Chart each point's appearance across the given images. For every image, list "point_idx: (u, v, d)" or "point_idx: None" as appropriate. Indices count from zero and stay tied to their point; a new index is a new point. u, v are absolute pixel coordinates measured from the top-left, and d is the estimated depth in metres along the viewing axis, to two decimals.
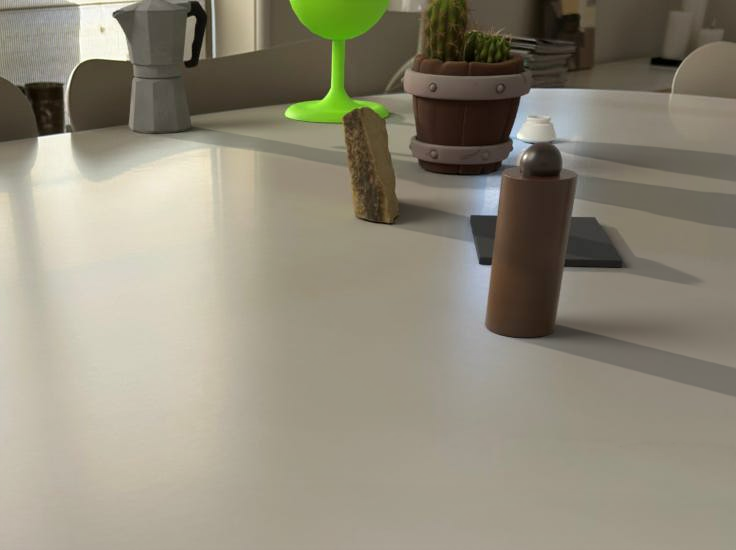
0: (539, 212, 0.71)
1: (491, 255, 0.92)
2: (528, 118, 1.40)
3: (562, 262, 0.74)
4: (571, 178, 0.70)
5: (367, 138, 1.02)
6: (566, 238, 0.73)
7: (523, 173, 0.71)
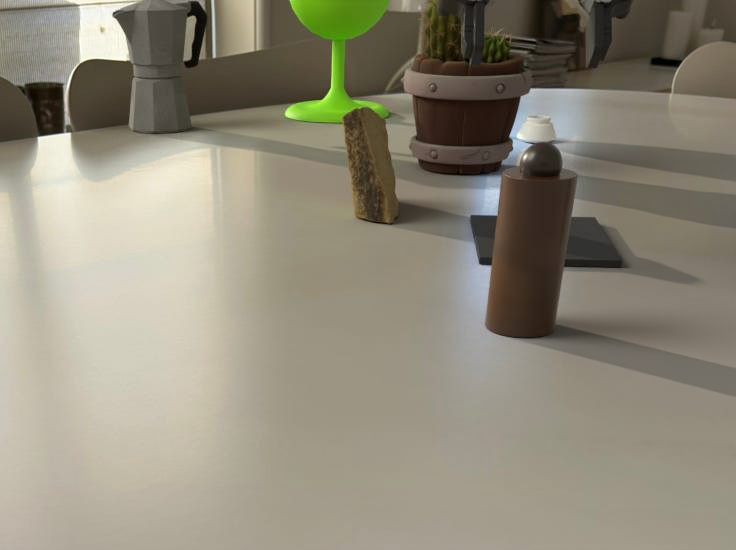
0: (539, 212, 0.71)
1: (491, 255, 0.92)
2: (528, 118, 1.40)
3: (562, 262, 0.74)
4: (571, 178, 0.70)
5: (367, 138, 1.02)
6: (566, 238, 0.73)
7: (523, 173, 0.71)
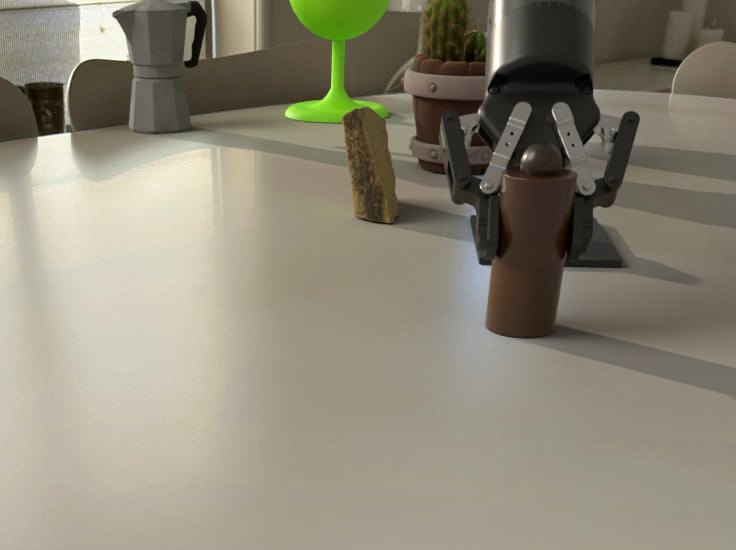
0: (539, 212, 0.71)
1: None
2: None
3: (562, 262, 0.74)
4: (571, 178, 0.70)
5: (367, 138, 1.02)
6: (566, 238, 0.73)
7: (523, 173, 0.71)
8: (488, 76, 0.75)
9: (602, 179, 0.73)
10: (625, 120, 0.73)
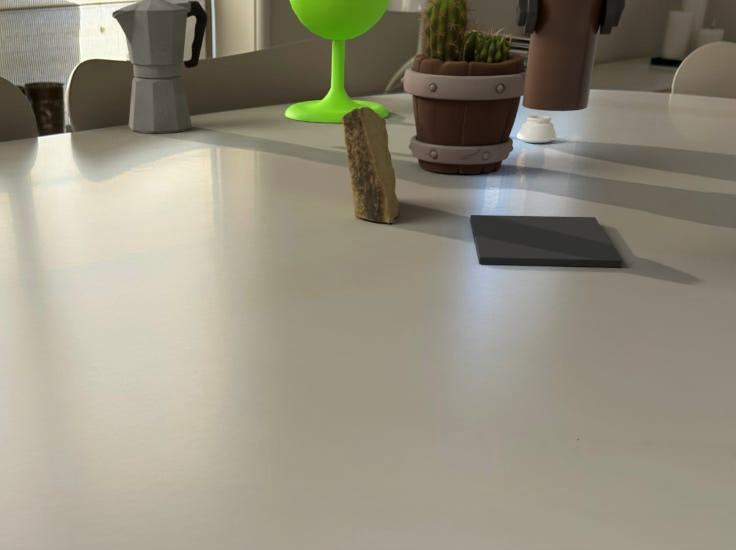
0: None
1: (491, 255, 0.92)
2: (528, 118, 1.40)
3: (596, 35, 0.79)
4: None
5: (367, 138, 1.02)
6: (600, 11, 0.79)
7: None
8: None
9: None
10: None
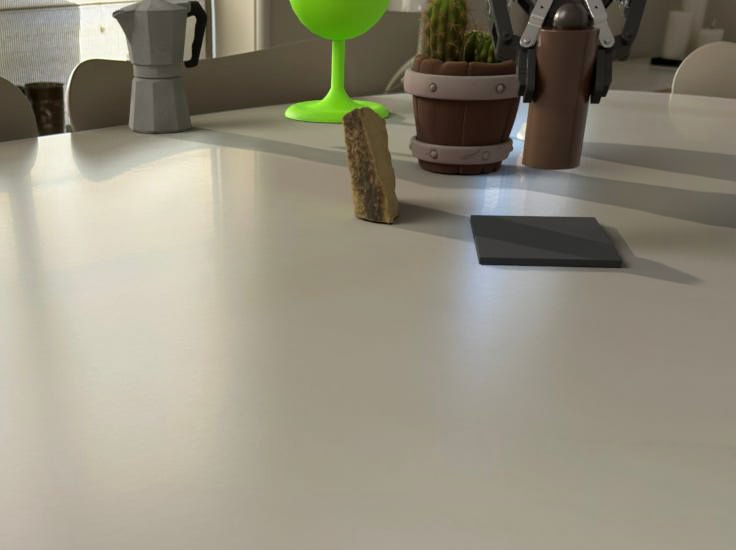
0: (569, 59, 0.87)
1: (491, 255, 0.92)
2: None
3: (586, 104, 0.90)
4: (595, 30, 0.87)
5: (367, 138, 1.02)
6: (590, 83, 0.89)
7: (556, 28, 0.88)
8: None
9: (619, 35, 0.89)
10: None
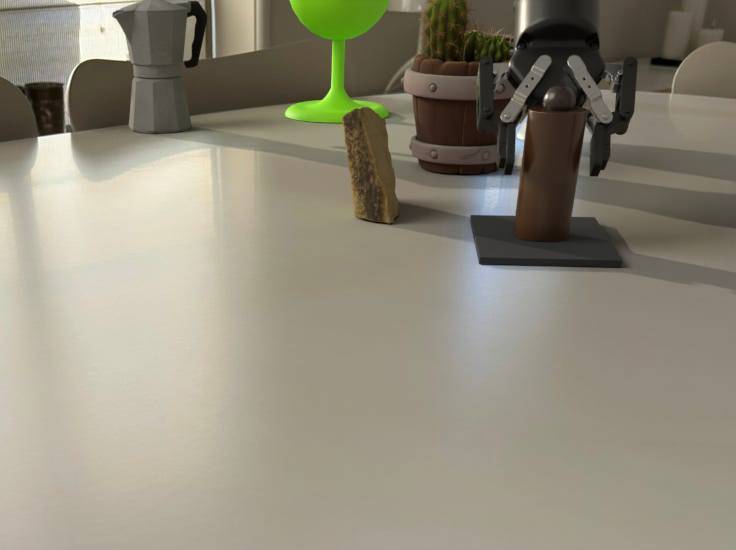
0: (557, 139, 0.91)
1: (491, 255, 0.92)
2: None
3: (575, 181, 0.93)
4: (582, 112, 0.90)
5: (367, 138, 1.02)
6: (578, 161, 0.93)
7: (545, 109, 0.91)
8: (516, 35, 0.94)
9: (617, 112, 0.92)
10: (626, 64, 0.93)
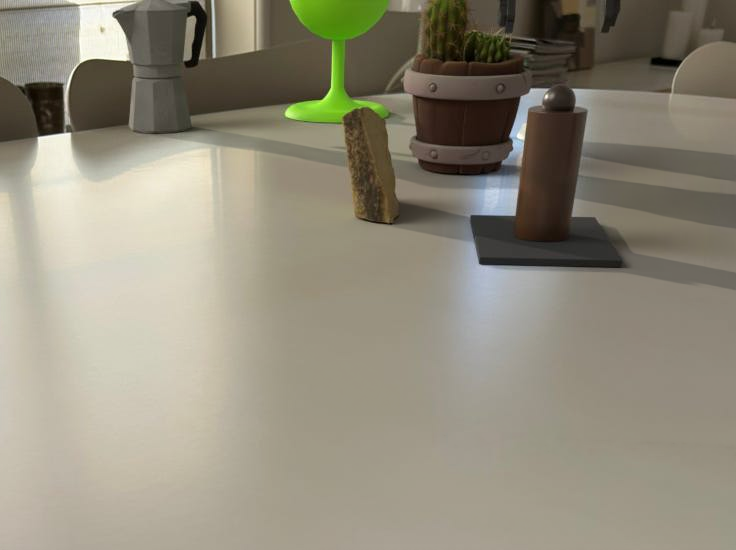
0: (557, 139, 0.91)
1: (491, 255, 0.92)
2: None
3: (575, 181, 0.93)
4: (582, 112, 0.90)
5: (367, 138, 1.02)
6: (578, 161, 0.93)
7: (545, 109, 0.91)
8: None
9: None
10: None
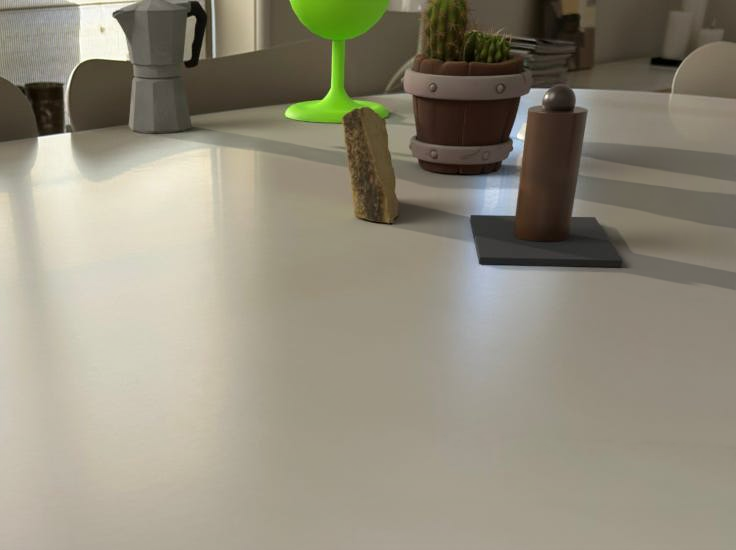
0: (557, 139, 0.91)
1: (491, 255, 0.92)
2: None
3: (575, 181, 0.93)
4: (582, 112, 0.90)
5: (367, 138, 1.02)
6: (578, 161, 0.93)
7: (545, 109, 0.91)
8: None
9: None
10: None
